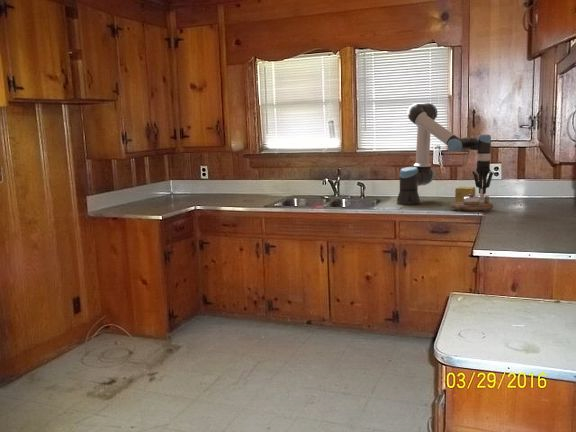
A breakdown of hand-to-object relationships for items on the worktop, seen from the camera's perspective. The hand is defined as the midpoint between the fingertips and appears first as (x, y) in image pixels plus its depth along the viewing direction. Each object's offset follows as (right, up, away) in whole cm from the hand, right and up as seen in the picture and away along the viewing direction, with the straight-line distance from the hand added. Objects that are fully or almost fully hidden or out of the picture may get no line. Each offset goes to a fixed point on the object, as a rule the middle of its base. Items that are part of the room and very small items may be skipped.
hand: (482, 198), depth 337 cm
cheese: (-3, -2, +23) cm, 24 cm away
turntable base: (-8, -7, -5) cm, 12 cm away
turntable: (-8, -5, -5) cm, 11 cm away
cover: (-8, -3, -5) cm, 11 cm away
